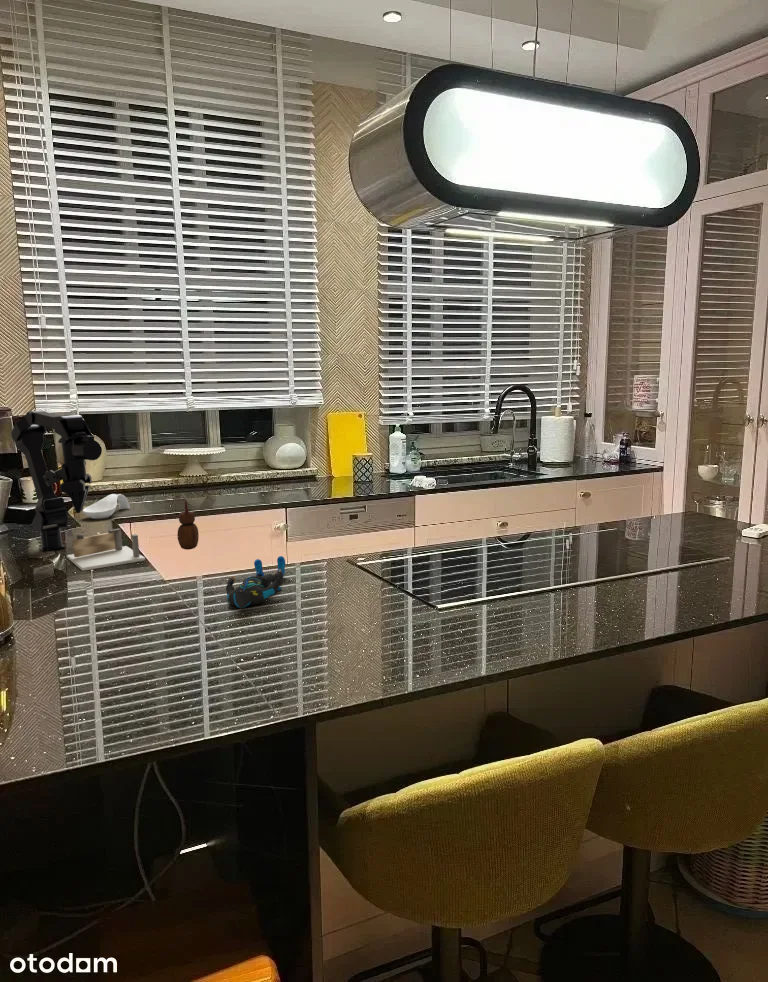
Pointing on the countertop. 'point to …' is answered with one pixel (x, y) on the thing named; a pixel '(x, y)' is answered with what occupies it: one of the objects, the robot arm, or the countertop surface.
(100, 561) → the white flat posted base
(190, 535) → the wooden figurine
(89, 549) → the gate
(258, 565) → the figurine
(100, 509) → the spoon rest
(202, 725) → the countertop surface
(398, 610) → the countertop surface
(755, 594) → the countertop surface
